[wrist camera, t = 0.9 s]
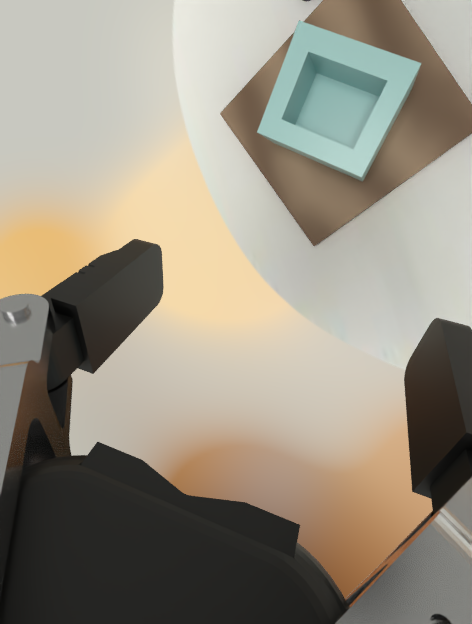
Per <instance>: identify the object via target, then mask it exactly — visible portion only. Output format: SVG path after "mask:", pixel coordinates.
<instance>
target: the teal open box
mask: <svg viewBox="0 0 472 624" xmlns="http://www.w3.org/2000/svg"><path fill="white" fill-rule="evenodd" d="M420 66H421V63H419V62H416V61H413V60H411V59H408V58H405V57H402V56H399V55H396V54H393V53H391V52H388V51H385V50H382V49H379V48H376V47H373V46H371V45H368V44H365V43H362V42H359V41H356V40H353V39H351V38H348V37H345V36H342V35H339V34H336V33H334V32H331V31H328V30H325V29H322V28H319V27H316V26H314V25H311V24H308V23H305V22H302V21H299V22H298V25H297V27H296V30H295V33H294V35H293V38H292V41H291V43H290V46H289V49H288V51H287V54H286V57H285V59H284V62H283V65H282V67H281V70H280V73H279V75H278V78H277V81H276V83H275V86H274V88H273V91H272V94H271V96H270V99H269V102H268V104H267V107H266V110H265V112H264V115H263V118H262V120H261V123H260V126H259V128H258V131H257V133H259V134H261V135H262V136H264V137H265V138H267V139H268V140H270V141H271V142H273V143H275V144H277V145H279V146H282V147H284V148H286V149H289V150H291V151H293V152H296V153H298V154H300V155H302V156H305V157H307V158H309V159H312V160H314V161H316V162H319V163H321V164H323V165H326V166H328V167H330V168H332V169H335V170H337V171H339V172H342V173H344V174H346V175H349V176H351V177H353V178H356V179H358V180H360V181H362V182H363V180H364V178H365V176H366V174H367V173H368V171H369V169H370V167H371V165H372V163H373V161H374V159H375V157H376V156H377V154H378V152H379V150H380V148H381V146H382V144H383V142H384V140H385V139H386V137H387V135H388V133H389V131H390V129H391V127H392V125H393V124H394V122H395V120H396V118H397V116H398V114H399V112H400V110H401V108H402V107H403V105H404V103H405V101H406V99H407V97H408V95H409V93H410V91H411V90H412V87H413V85H414V82H415V79H416V77H417V74H418V71H419V69H420Z"/></svg>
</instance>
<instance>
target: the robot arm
mask: <svg viewBox="0 0 472 624" xmlns="http://www.w3.org/2000/svg"><path fill="white" fill-rule="evenodd" d="M162 294H163V270H162V251H161V248H160V246H158V245H157V244H153V243H149V242H146V241H141V240H138V239H134V240H132V241H130V242H129V243H128V244H126V245H125V246H123V247H122V248H121V249H119V250H116V251H113V252H110V253H107V254H104V255H101V256H99V257H98V258H96V259H95V260H94V261H92V262H91V263H89V265H88V266H85V267H83V268H82V269H80V270H79V272H78V273H77V272H76V273H74V274H73V275H71V276H70V277H69V278H67V279H66V280H64V281H63V282H61V283H60V284H58V285H57V286H55V287H54V288H52V289H51V290H49V291H48V292H46V293H45V294H44V295H42V296H38V295H34V294H19V295H13V296H8V297H5V298H3V299H0V624H472V330H471V328H470V327H469V326H466V325H463V324H459V323H455V322H451V321H447V320H443V319H439V318H436V319H434V320H433V321H432V322H431V324H430V325H429V327H428V329H427V331H426V332H425V334H424V336H423V337H422V339H421V341H420V342H419V344H418V346H417V348H416V349H415V351H414V353H413V354H412V356H411V358H410V360H409V362H408V364H407V367H406V371H405V378H404V381H405V396H406V410H407V423H408V438H409V451H410V465H411V479H412V491H413V492H415V493H418V494H420V495H423V496H426V497H429V498H431V499H432V507H433V511H432V512H431V513H430V514H429V515H428V516H427V517H426V518H425V519H424V520H423V521H422V522H421V523H420V524H419V525H418V526H417V527H416V528H415V529H414V530H413V531H412V532H411V533H410V534H409V535H408V536H407V537H406V538H405V539H404V540H403V541H402V542H401V543H400V544H399V545H398V547H396V548H395V550H393V552H392V553H391V554H390V555H389V556H388V557H387V558H386V559H385V560H384V561H383V562H382V563H381V564H380V565H379V566H378V567H377V568H376V569H375V570H374V571H373V572H372V573H371V574H370V575H369V576H368V577H367V578H366V579H365V580H364V581H363V582H362V583H360V584H359V585H358V587H356V588H355V589H354V590H353V591H352V592H351V594H349V596H348V597H347V598H346V599H344V597H343V595H342V593H341V591H340V590H339V588H338V587H337V585H336V584H335V582H334V581H333V579H332V578H331V576H330V575H329V574H328V573H327V571H326V570H325V569H324V568H323V566H322V565H321V564H320V563H319V562H318V561H317V560H316V559H315V558H314V557H313V556H312V555H311V554H310V553H309V552H308V551H307V550H306V549H305V548H304V547H302V546H301V545H300V544H298V543H297V539H298V533H299V527H300V525H299V524H296V523H294V522H291V521H289V520H286V519H284V518H281V517H279V516H277V515H274V514H272V513H269V512H267V511H265V510H262V509H260V508H257V507H255V506H252V505H250V504H248V503H245V502H237V501H229V500H221V499H213V498H204V497H195V496H189V495H186V494H184V493H182V492H181V491H180V490H178V489H177V488H176V487H175V486H173V485H172V484H171V483H169V481H167V480H166V479H165V478H164V477H162V476H161V475H160V474H159V473H158V472H156V471H155V470H154V469H152V468H151V467H150V466H149V465H148V464H147V463H145V462H144V461H143V460H141V459H138V458H136V457H134V456H131V455H129V454H126V453H124V452H121V451H119V450H116V449H114V448H112V447H109V446H107V445H104V444H102V443H99V442H97V443H96V445H95V446H94V447H93V449H92V450H91V451H90V453H89V454H88V455H87V456H85V455H81V456H71V451H70V444H69V430H70V414H71V399H72V382H73V381H72V377H71V374H72V373H73V372H74V371H75V370H76V369H77V368H79V369H82V370H84V371H87V372H90V373H92V374H93V373H94V372H95V371H96V370H97V369H98V368H99V367H100V366H101V365H102V364H103V363H104V362H105V360H107V358H108V357H109V356H110V355H111V354H112V353H113V352H114V351H115V350H116V349H117V348H118V347H119V346H120V344H121V343H122V342H123V341H124V340H125V339H126V338H127V337H128V336H129V335H130V334H131V333H132V332H133V331H134V330H135V329H136V327H137V326H138V325H139V324H140V323H141V322H142V321H143V320H144V319H145V318H146V317H147V316H148V315H149V314H150V312H151V311H152V310H153V309H154V308H155V307H156V306H157V305H158V303H159V302H160V300H161V297H162Z"/></svg>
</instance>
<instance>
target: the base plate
mask: <svg viewBox="0 0 472 624" xmlns="http://www.w3.org/2000/svg"><path fill="white" fill-rule="evenodd" d="M304 22H305V23H308V24H311V25H314V26H316V27H319V28H322V29H325V30H328V31H331V32H334V33H336V34H339V35H342V36H345V37H348V38H351V39H353V40H356V41H359V42H362V43H365V44H368V45H371V46H373V47H376V48H379V49H382V50H385V51H388V52H391V53H393V54H396V55H399V56H402V57H405V58H408V59H411V60H413V61H416V62H419V63H421V66H420V69H419V71H418V74H417V77H416V79H415V82H414V85H413V87H412V90H411V91H410V93H409V95H408V97H407V99H406V101H405V103H404V105H403V107H402V108H401V110H400V112H399V114H398V116H397V118H396V120H395V122H394V124H393V125H392V127H391V129H390V131H389V133H388V135H387V137H386V139H385V140H384V142H383V144H382V146H381V148H380V150H379V152H378V154H377V156H376V157H375V159H374V161H373V163H372V165H371V167H370V169H369V171H368V173H367V174H366V176H365V178H364V180H363V182H362V181H360V180H358V179H356V178H353V177H351V176H349V175H346V174H344V173H342V172H339V171H337V170H335V169H332V168H330V167H328V166H326V165H323V164H321V163H319V162H316V161H314V160H312V159H309V158H307V157H305V156H302V155H300V154H298V153H296V152H293V151H291V150H289V149H286V148H284V147H282V146H279V145H277V144H275V143H273V142H271V141H270V140H268V139H267V138H265V137H264V136H262V135H261V134H259V133H257V131H258V128H259V126H260V123H261V120H262V118H263V115H264V112H265V110H266V107H267V104H268V102H269V99H270V96H271V94H272V91H273V88H274V86H275V83H276V81H277V78H278V75H279V73H280V70H281V67H282V65H283V62H284V59H285V57H286V54H287V51H288V49H289V46H290V43H291V41H292V38H293V35H294V33H295V32H294V33H293V34H292V35H291V36H290V37H289V39H288V40H287V41H286V42H285V43H284V44H283V45H282V46H281V47H280V48H279V49H278V51H277V52H276V53H275V54H274V55H273V56H272V57H271V58H270V59H269V60H268V62H267V63H266V64H265V65H264V66H263V67H262V68H261V69H260V70H259V71H258V73H257V74H256V75H255V76H254V77H253V78H252V79H251V80H250V81H249V82H248V83H247V85H246V86H245V87H244V88H243V89H242V90H241V91H240V92H239V93H238V94H237V96H236V97H235V98H234V99H233V100H232V101H231V102H230V103H229V104H228V105H227V107H226V108H225V109H224V110H223V111H222V112H221V113H220V114H221V116H222V117H223V119H224V120H225V121H226V123H227V124H228V126H229V127H230V128H231V130H232V131H233V133H234V134H235V135H236V137H237V138H238V140H239V141H240V143H241V144H242V145H243V147H244V148H245V150H246V151H247V152H248V154H249V155H250V157H251V158H252V159H253V161H254V162H255V164H256V165H257V167H258V168H259V169H260V171H261V172H262V174H263V175H264V176H265V178H266V179H267V181H268V182H269V183H270V185H271V186H272V188H273V189H274V191H275V192H276V193H277V195H278V196H279V198H280V199H281V200H282V202H283V203H284V205H285V206H286V207H287V209H288V210H289V212H290V213H291V214H292V216H293V217H294V219H295V220H296V222H297V223H298V224H299V226H300V227H301V229H302V230H303V231H304V233H305V234H306V236H307V237H308V238H309V240H310V241H311V243H312V244H313V246H315V245H317V244H318V243H320V242H321V241H322V240H324V239H325V238H326V237H328V236H329V235H331V234H332V233H333V232H335V231H336V230H338V229H339V228H340V227H342V226H343V225H345V224H346V223H347V222H349V221H350V220H352V219H353V218H354V217H356V216H357V215H359V214H360V213H361V212H363V211H364V210H366V209H367V208H368V207H370V206H371V205H372V204H374V203H375V202H377V201H378V200H379V199H381V198H382V197H384V196H385V195H386V194H388V193H389V192H391V191H392V190H393V189H395V188H396V187H398V186H399V185H400V184H402V183H403V182H405V181H406V180H407V179H409V178H410V177H412V176H413V175H414V174H416V173H417V172H418V171H420V170H421V169H423V168H424V167H425V166H427V165H428V164H430V163H431V162H432V161H434V160H435V159H437V158H438V157H439V156H441V155H442V154H444V153H445V152H446V151H448V150H449V149H451V148H452V147H453V146H455V145H456V144H458V143H459V142H460V141H462V140H463V139H464V138H466V137H467V136H469V135H470V134H471V133H472V104H471V102H470V101H469V100H468V98H467V97H466V95H465V94H464V92H463V91H462V89H461V88H460V86H459V85H458V83H457V82H456V80H455V79H454V78H453V76H452V75H451V73H450V72H449V70H448V69H447V67H446V66H445V64H444V63H443V61H442V60H441V58H440V57H439V56H438V54H437V53H436V51H435V50H434V48H433V47H432V45H431V44H430V42H429V41H428V39H427V38H426V36H425V35H424V34H423V32H422V31H421V29H420V28H419V26H418V25H417V23H416V22H415V20H414V19H413V17H412V16H411V14H410V13H409V12H408V10H407V9H406V7H405V6H404V4H403V3H402V1H401V0H323V1H322V2H321V3H320V5H319V6H318V7H317V8H316V9H315V10H314V11H313V12H312V13H311V14H310V15H309V17H308V18H307V19H306V20H305V21H304Z"/></svg>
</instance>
